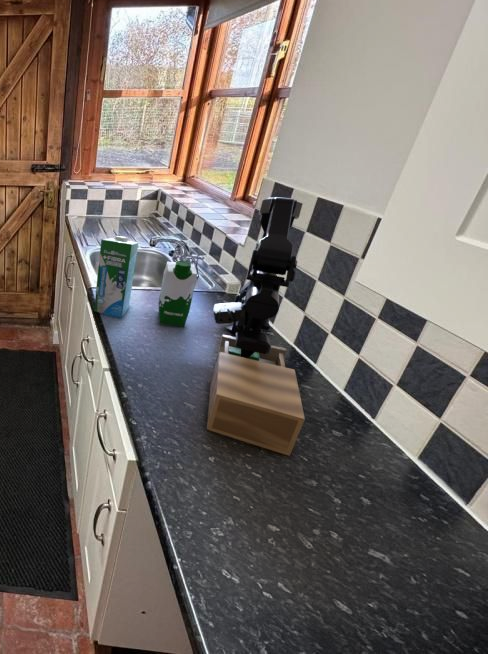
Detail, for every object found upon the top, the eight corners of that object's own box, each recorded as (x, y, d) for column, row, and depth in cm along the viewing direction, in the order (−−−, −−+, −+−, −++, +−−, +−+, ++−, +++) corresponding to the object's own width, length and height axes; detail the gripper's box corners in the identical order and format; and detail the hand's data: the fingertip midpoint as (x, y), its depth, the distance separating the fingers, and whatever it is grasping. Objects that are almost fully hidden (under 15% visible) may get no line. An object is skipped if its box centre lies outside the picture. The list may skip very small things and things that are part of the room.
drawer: (216, 356, 107) (222, 332, 104) (276, 371, 101) (285, 345, 98) (213, 395, 94) (220, 367, 91) (282, 414, 88) (292, 386, 85)
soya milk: (156, 324, 124) (167, 264, 115) (155, 310, 131) (165, 253, 123) (187, 329, 121) (201, 268, 113) (185, 315, 129) (197, 256, 120)
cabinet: (210, 384, 99) (219, 351, 95) (282, 403, 92) (294, 369, 88) (206, 429, 86) (216, 394, 82) (289, 456, 79) (305, 419, 75)
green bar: (226, 359, 99) (228, 351, 98) (226, 353, 101) (228, 345, 100) (275, 371, 94) (277, 362, 93) (274, 365, 96) (277, 356, 95)
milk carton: (129, 306, 134) (139, 235, 124) (121, 318, 128) (131, 244, 117) (102, 300, 139) (110, 230, 128) (93, 311, 132) (101, 239, 121)
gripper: (221, 277, 102) (208, 329, 109) (218, 309, 88) (203, 367, 94) (273, 285, 97) (256, 340, 104) (279, 321, 83) (259, 382, 89)
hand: (243, 356), depth 98 cm, fingers closed on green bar, 2 cm apart
